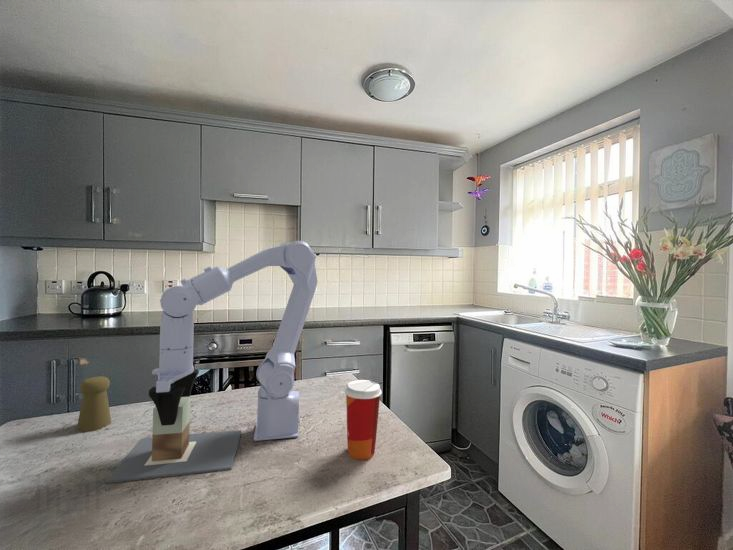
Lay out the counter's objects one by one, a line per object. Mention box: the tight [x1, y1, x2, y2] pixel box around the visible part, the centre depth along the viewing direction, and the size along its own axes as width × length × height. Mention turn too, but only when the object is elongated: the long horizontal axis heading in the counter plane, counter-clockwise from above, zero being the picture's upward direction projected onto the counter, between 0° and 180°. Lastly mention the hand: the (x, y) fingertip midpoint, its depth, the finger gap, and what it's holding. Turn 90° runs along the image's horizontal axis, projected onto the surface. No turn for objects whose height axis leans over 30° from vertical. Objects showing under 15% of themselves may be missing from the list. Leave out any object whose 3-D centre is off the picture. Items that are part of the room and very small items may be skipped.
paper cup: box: [344, 379, 383, 461], centre depth 66 cm, size 8×8×14 cm
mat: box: [104, 429, 243, 484], centre depth 63 cm, size 20×14×1 cm
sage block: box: [152, 396, 191, 435], centre depth 63 cm, size 5×5×5 cm
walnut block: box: [151, 420, 191, 461], centre depth 63 cm, size 5×5×5 cm
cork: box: [76, 375, 112, 433], centre depth 73 cm, size 6×6×11 cm
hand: (175, 415), depth 63 cm, fingers open, 7 cm apart
